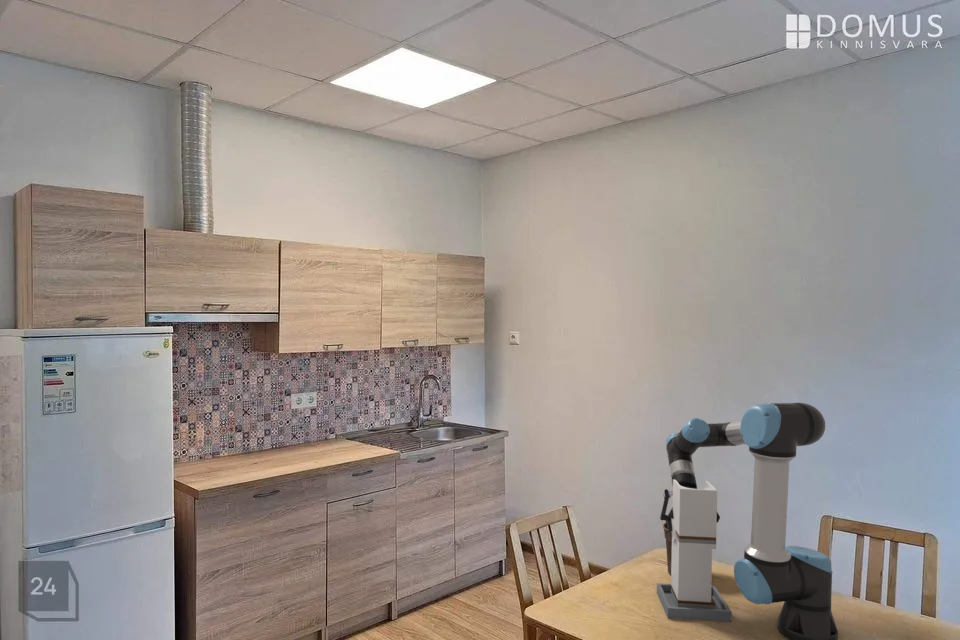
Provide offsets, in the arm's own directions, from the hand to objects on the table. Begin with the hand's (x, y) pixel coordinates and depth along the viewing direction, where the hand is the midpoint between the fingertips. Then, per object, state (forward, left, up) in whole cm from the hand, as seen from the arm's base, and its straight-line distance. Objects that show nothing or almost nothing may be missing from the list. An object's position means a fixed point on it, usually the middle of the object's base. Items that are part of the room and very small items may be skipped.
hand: (693, 541), depth 197 cm
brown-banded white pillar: (0, -1, -18) cm, 18 cm away
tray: (0, -1, -20) cm, 20 cm away
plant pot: (-4, -27, -20) cm, 34 cm away
